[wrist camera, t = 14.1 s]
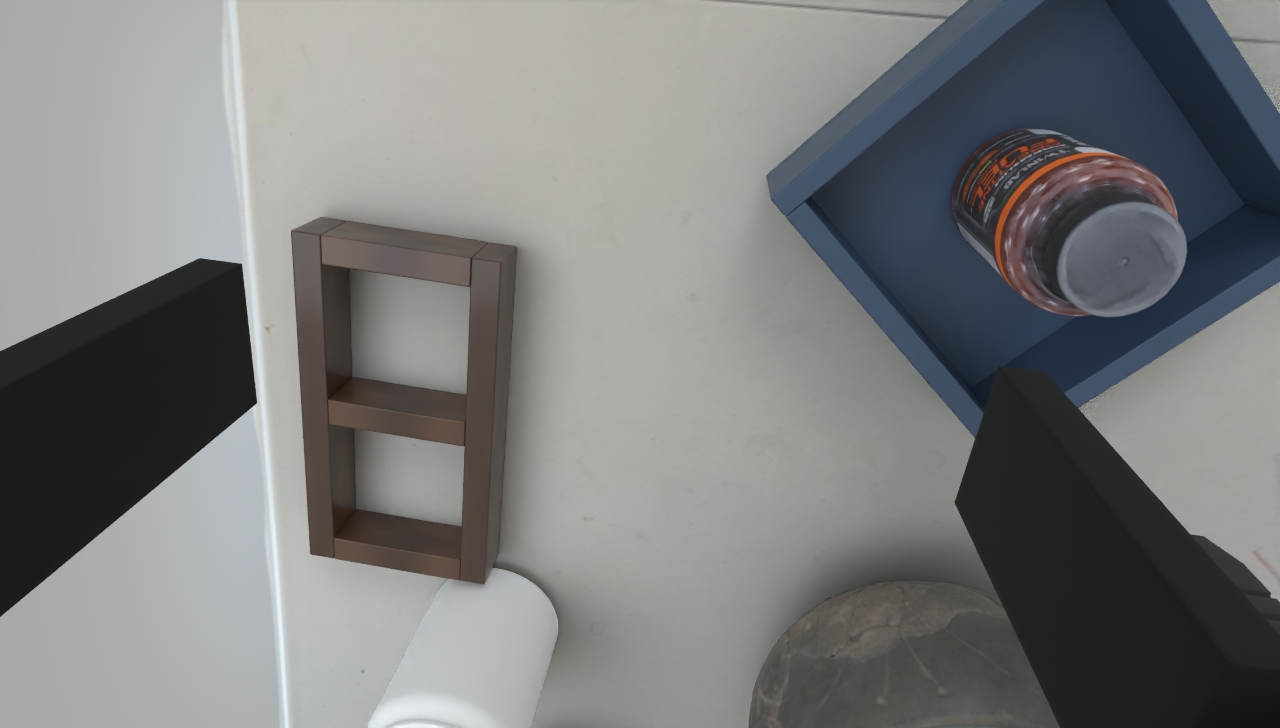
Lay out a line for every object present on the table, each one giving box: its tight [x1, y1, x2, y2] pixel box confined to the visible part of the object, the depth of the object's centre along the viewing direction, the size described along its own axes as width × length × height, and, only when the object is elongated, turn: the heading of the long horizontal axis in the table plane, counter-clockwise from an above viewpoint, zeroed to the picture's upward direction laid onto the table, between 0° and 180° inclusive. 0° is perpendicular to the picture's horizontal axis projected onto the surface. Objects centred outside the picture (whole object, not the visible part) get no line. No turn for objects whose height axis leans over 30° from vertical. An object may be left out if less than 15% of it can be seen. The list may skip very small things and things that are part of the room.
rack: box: [291, 217, 517, 584], centre depth 43 cm, size 10×20×3 cm, turn 173°
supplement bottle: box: [951, 128, 1187, 317], centre depth 31 cm, size 6×6×11 cm
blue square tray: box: [767, 0, 1280, 438], centre depth 34 cm, size 16×16×6 cm
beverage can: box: [367, 568, 558, 728], centre depth 45 cm, size 8×8×12 cm
